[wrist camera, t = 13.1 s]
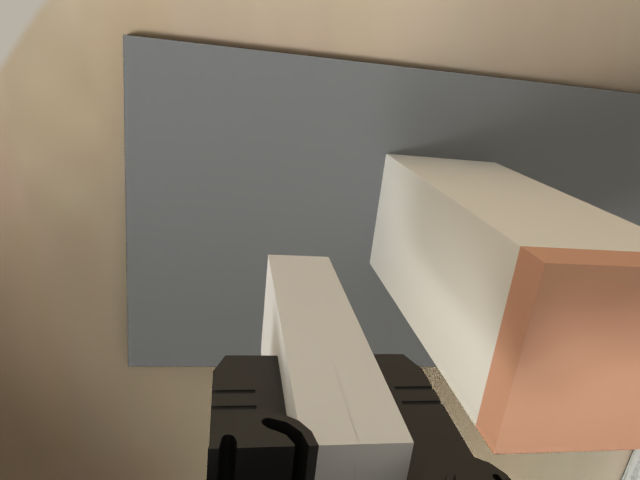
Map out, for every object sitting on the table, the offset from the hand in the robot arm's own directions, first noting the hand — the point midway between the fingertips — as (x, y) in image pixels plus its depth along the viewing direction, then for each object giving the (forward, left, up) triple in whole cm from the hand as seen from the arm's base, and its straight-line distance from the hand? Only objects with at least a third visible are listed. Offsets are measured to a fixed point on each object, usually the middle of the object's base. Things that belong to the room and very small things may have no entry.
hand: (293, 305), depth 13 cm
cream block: (+7, 0, -10) cm, 12 cm away
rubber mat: (+9, -1, -10) cm, 14 cm away
